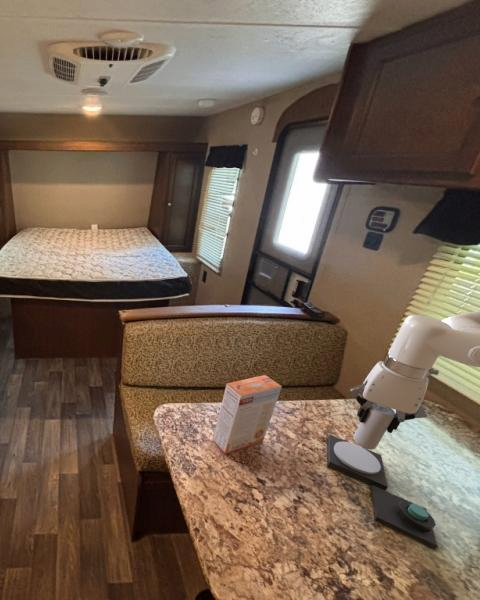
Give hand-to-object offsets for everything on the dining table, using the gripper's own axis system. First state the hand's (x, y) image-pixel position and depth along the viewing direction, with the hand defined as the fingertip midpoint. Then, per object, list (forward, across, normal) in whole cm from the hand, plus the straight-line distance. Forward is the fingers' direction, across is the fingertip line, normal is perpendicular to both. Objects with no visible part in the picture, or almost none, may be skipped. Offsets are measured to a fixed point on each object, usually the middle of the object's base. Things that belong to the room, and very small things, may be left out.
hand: (374, 423), depth 82 cm
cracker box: (+15, +28, +12) cm, 34 cm away
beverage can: (+7, 0, 0) cm, 7 cm away
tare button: (+12, -10, +12) cm, 20 cm away
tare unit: (+15, -8, +12) cm, 21 cm away
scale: (+15, 0, 0) cm, 15 cm away
